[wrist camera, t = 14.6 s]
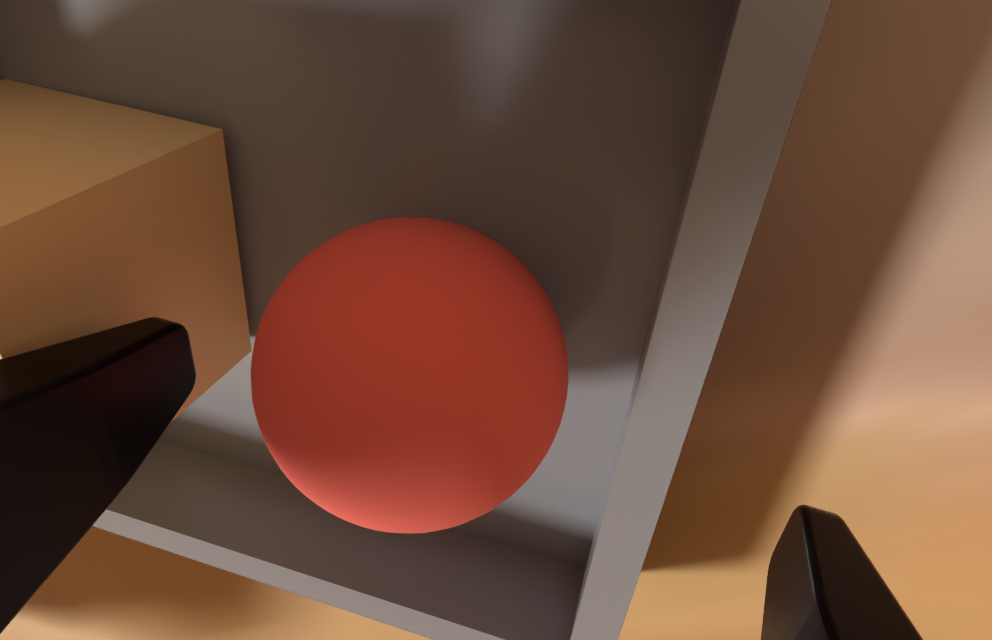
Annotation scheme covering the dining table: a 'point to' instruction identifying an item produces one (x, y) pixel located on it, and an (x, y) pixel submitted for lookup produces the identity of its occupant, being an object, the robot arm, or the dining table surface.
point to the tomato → (409, 375)
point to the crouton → (115, 227)
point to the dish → (477, 205)
